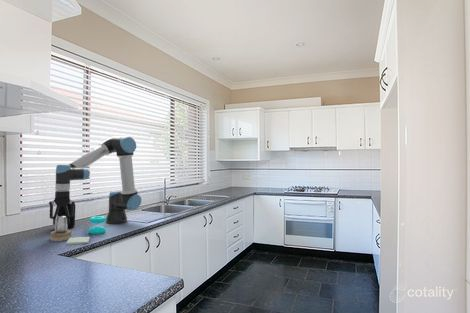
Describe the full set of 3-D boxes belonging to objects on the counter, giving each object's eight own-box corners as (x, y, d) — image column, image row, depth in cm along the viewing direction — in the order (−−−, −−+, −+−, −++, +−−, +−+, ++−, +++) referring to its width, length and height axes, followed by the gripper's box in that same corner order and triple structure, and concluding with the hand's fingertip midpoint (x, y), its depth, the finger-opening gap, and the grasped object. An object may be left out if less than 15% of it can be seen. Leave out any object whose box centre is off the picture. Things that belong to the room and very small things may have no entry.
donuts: (100, 215, 204) (109, 217, 199) (99, 230, 204) (108, 232, 199) (86, 217, 196) (95, 219, 190) (85, 232, 196) (94, 235, 190)
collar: (72, 235, 187) (72, 229, 187) (69, 240, 177) (69, 233, 177) (52, 236, 183) (52, 230, 183) (48, 241, 174) (48, 234, 174)
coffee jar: (78, 226, 213) (78, 200, 213) (68, 229, 202) (69, 202, 202) (63, 225, 214) (64, 199, 214) (53, 228, 203) (54, 201, 203)
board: (90, 238, 183) (90, 236, 183) (88, 243, 173) (88, 241, 173) (69, 239, 179) (69, 237, 179) (66, 244, 169) (66, 242, 169)
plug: (66, 237, 183) (66, 215, 184) (64, 239, 179) (65, 217, 179) (57, 237, 182) (57, 216, 182) (55, 239, 177) (56, 217, 177)
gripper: (43, 191, 174) (42, 232, 174) (78, 191, 180) (76, 230, 180) (46, 190, 181) (45, 229, 181) (80, 189, 187) (78, 227, 187)
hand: (61, 229), depth 180 cm, fingers closed on plug, 5 cm apart
